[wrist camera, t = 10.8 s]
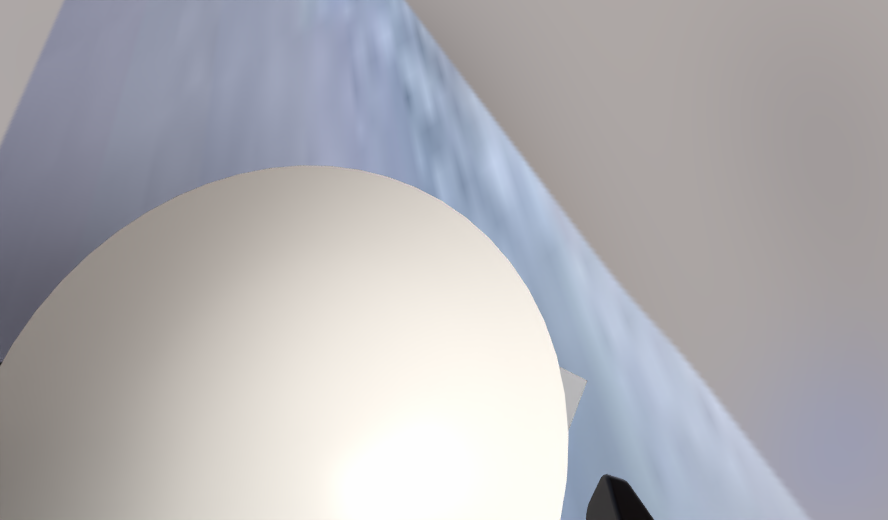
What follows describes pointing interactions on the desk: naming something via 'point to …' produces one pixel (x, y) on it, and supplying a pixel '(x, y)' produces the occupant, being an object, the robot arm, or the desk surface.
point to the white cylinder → (287, 366)
